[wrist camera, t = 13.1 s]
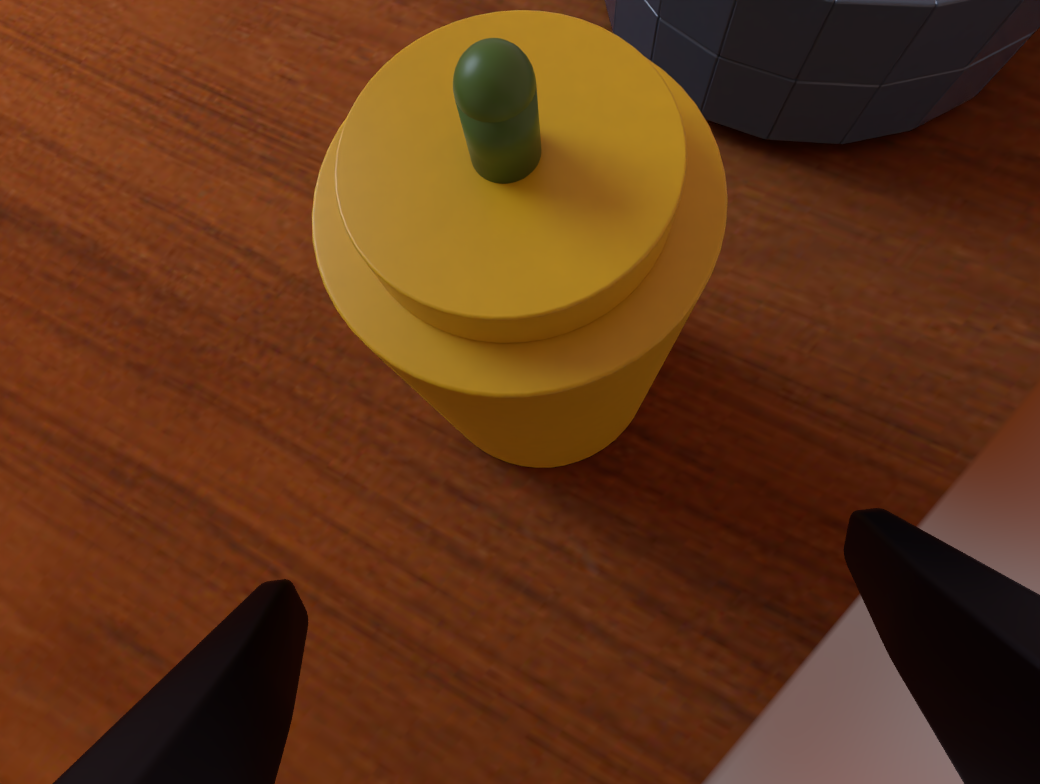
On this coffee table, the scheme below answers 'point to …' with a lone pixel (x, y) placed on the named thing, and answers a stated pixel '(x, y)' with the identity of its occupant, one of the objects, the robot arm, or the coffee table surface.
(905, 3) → the bowl
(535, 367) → the pepper
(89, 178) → the coffee table surface
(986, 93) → the coffee table surface
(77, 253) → the coffee table surface
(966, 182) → the coffee table surface
